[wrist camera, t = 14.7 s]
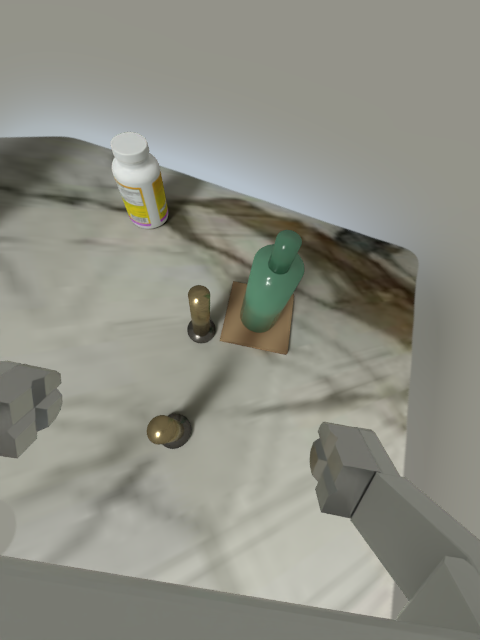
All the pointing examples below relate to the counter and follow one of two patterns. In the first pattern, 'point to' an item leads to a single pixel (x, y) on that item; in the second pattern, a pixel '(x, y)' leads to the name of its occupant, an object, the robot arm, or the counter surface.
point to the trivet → (241, 335)
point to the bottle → (272, 282)
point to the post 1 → (169, 430)
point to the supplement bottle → (139, 180)
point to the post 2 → (200, 315)
